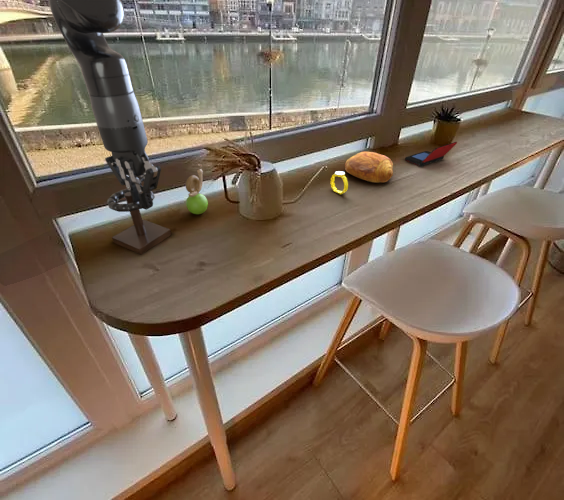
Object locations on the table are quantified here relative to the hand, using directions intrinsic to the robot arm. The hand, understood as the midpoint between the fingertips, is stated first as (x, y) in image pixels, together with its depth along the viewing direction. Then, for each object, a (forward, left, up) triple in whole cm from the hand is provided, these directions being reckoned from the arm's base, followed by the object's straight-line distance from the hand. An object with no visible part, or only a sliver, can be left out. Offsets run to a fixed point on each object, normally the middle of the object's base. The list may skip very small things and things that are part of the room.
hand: (144, 206), depth 68 cm
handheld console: (+83, -44, -10) cm, 95 cm away
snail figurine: (+16, +1, -10) cm, 19 cm away
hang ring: (0, +4, +1) cm, 4 cm away
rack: (0, +4, -10) cm, 10 cm away
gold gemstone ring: (+45, -26, -10) cm, 53 cm away
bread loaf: (+62, -30, -10) cm, 70 cm away
